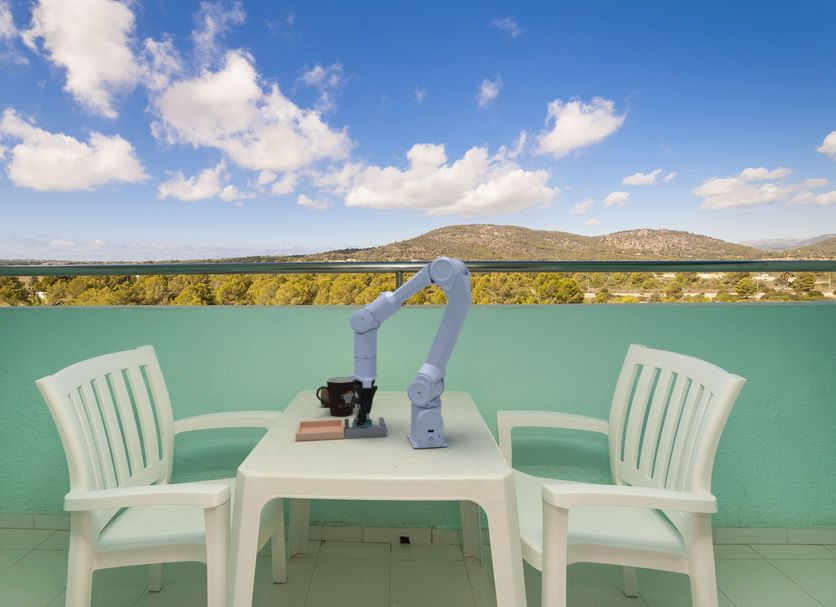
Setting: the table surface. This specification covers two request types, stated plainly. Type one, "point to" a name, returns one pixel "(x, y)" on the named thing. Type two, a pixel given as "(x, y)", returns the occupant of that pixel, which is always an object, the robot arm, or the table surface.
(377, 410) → the table surface
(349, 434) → the bracket
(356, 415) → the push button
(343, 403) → the coffee mug
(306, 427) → the tray
